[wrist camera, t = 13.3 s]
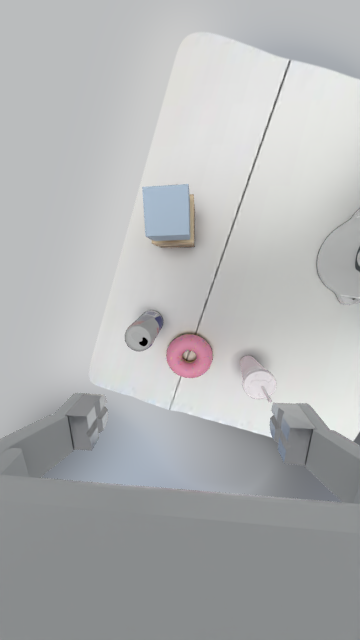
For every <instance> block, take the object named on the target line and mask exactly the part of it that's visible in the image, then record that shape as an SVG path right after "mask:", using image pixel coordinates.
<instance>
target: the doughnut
mask: <svg viewBox="0 0 360 640" xmlns="http://www.w3.org/2000/svg"><path fill="white" fill-rule="evenodd" d="M185 351H194V353H196V354H195V355H196V359H195V360H194V361H192V362H187V361H185V360H184V359H183V357H182V355H183V353H184V352H185ZM166 356H167V363H168V364H169V366H170V368H171V369H172V370H173V371H174V372H175V373H176V374H178V375H180V376H182V377H185V378H195V377H198V376H201V375H203V374H204V373H205V372H206V371H207V370H208V369H210V368H209V367H210V366H211V363H212V360H213V353H212V349H211V347H210V345H209V344H208V343H207V342H206V341H205V340H204V339H203V338H201V337H200V336H197V335H193V334H185V335H182V336H179V337H177V338H176V339H174V340H173V341H172V342H171V343H170V345H169V347H168V349H167V354H166Z"/></svg>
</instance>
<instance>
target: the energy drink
mask: <svg viewBox="0 0 360 640" xmlns="http://www.w3.org/2000/svg"><path fill="white" fill-rule="evenodd" d="M162 325H163V318H162V316H161V315H160V314H159V313H158V312H156V311H153V310H149V311H146V312H145V313H144V314H142V315H141V316H140V317H139V318H138V319H137V320H136V321H135V322H134V323H133V324H132V325H130V326H129V327H128V329H127V330H126V333H125V342H126V344H127V345H128V347H129V348H131V349H132V350H134V351H144V350H146V349H148V348H149V347H150V346H151V345H152V343H153V342H154V340H155V338H156V336H157V335H158V333H159V331H160V329H161V328H162Z"/></svg>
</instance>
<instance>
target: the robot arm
mask: <svg viewBox="0 0 360 640" xmlns="http://www.w3.org/2000/svg"><path fill="white" fill-rule="evenodd" d="M317 269H318V274H319V276H320V279H321V280H322V282H323V283H324V284H325V285H326V286H327V287H328V288H329V289H331V290H332V291H333V292H334V293H335V294H336V296H337V298H338V300H339V301H340V303H342V304H347V305H349V304H355V303H360V209H359V210H358V211H357V212H356V213H355V214H354V215H353V216H352V218H351V219H350V220H349V221H347V222H346V223H344V224H343V225H341V226H339V227H338V228H337V229H335V230H334V231H333V232H332V233H331V234H330V235H329V236H328V237H327V239H326V240H325V241H324V243H323V245H322V247H321V249H320V251H319V254H318V259H317ZM352 298H353V299H352ZM106 402H107V400H106V396H105V395H101V394H87V393H86V394H85V393H75V394H73V395H72V396H71V397H70V398H69V399H68V400H67V401H66V402H65V403H64V404H63V405H62V406H61V407H60V408H59V409H58V410H57V411H56V412H55V414H54V415H49V416H47V417H44V418H43V419H40V420H38V421H36V422H34V423H32V424H30V425H28V426H26V427H24V428H22V429H20V430H18V431H16V432H14V433H12V434H9V435H8V436H5V437H3V438H1V439H0V640H360V446H359V445H358V444H356V443H354V442H353V441H351V440H349V439H348V438H346V437H344V436H343V435H341V434H339V433H338V432H336V431H333V430H330V429H329V428H328V427H327V425H326V424H325V423H324V422H323V421H322V419H321V418H320V417H319V416H318V414H317V413H316V412H315V411H314V410H313V408H312V407H311V406H310V405H309V404H307V403H296V404H292V403H273V405H272V412H273V414H274V415H273V416H272V417H271V418H270V431H271V435H272V438H273V440H274V441H275V442H276V443H277V444H278V451H279V454H280V456H281V458H282V460H283V463H284V464H293V465H303V466H306V468H307V469H308V470H309V471H310V472H311V473H312V474H314V476H315V477H317V478H318V479H319V480H320V481H321V482H322V483H323V484H324V485H325V486H326V487H327V488H328V489H329V490H330V491H331V492H332V493H333V494H334V495H335V496H336V497H337V498H338V499H339V500H340V501H341V502H331V501H318V500H305V499H293V498H279V497H268V496H256V495H244V494H232V493H220V492H208V491H196V490H183V489H171V488H159V487H145V486H134V485H122V484H110V483H98V482H97V483H96V482H84V481H73V480H61V479H48V478H41V477H42V476H43V475H44V474H45V473H46V472H48V471H49V470H50V469H52V468H53V467H54V466H55V465H57V464H58V463H59V462H60V461H62V460H63V459H64V458H65V457H66V456H68V455H69V454H70V453H71V452H73V450H92V449H93V448H94V446H95V444H96V442H97V441H98V439H99V433H100V432H102V431H103V430H104V428H105V426H106V423H107V420H108V410H107V408H106V407H105V404H106Z"/></svg>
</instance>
